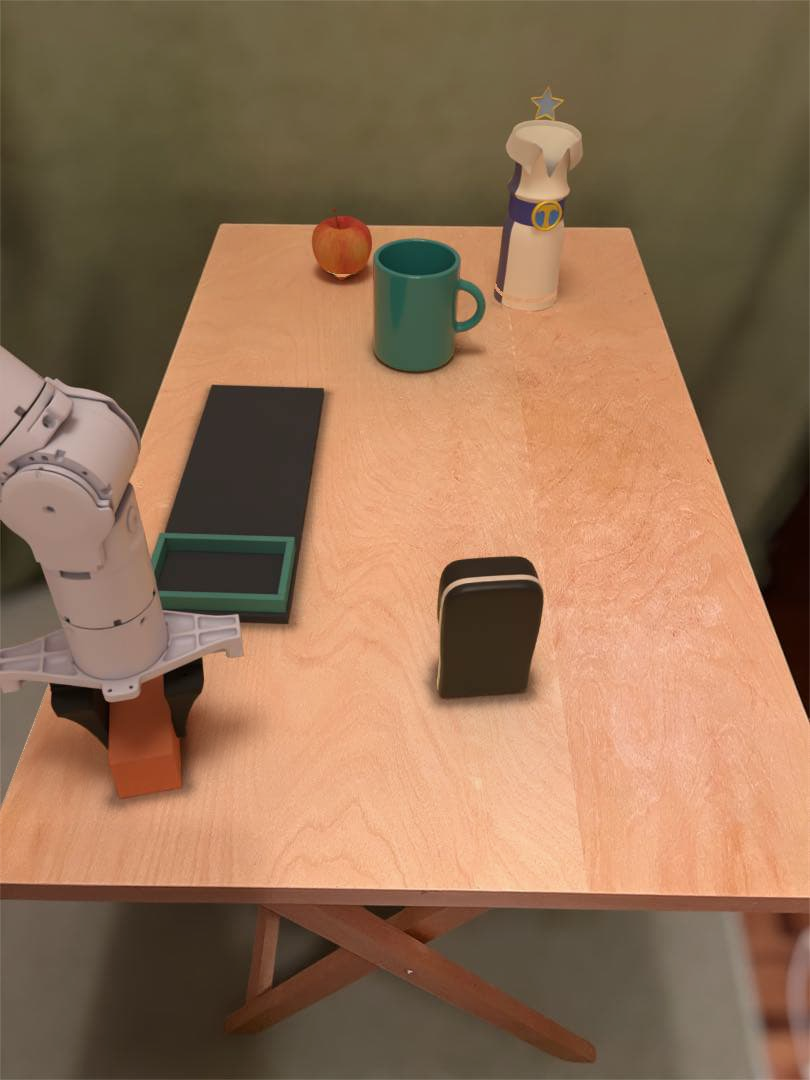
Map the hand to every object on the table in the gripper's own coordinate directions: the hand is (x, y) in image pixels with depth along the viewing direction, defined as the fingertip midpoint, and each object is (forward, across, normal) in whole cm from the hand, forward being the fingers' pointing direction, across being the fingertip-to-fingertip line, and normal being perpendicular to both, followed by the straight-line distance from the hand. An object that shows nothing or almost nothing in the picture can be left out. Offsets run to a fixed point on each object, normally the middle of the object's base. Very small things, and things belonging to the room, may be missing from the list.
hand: (146, 731), depth 62 cm
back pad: (+1, +9, +26) cm, 28 cm away
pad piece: (+1, 0, 0) cm, 1 cm away
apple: (+2, +25, +66) cm, 71 cm away
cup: (+2, +31, +46) cm, 55 cm away
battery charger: (+2, +24, +1) cm, 24 cm away
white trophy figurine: (+2, +46, +57) cm, 73 cm away
